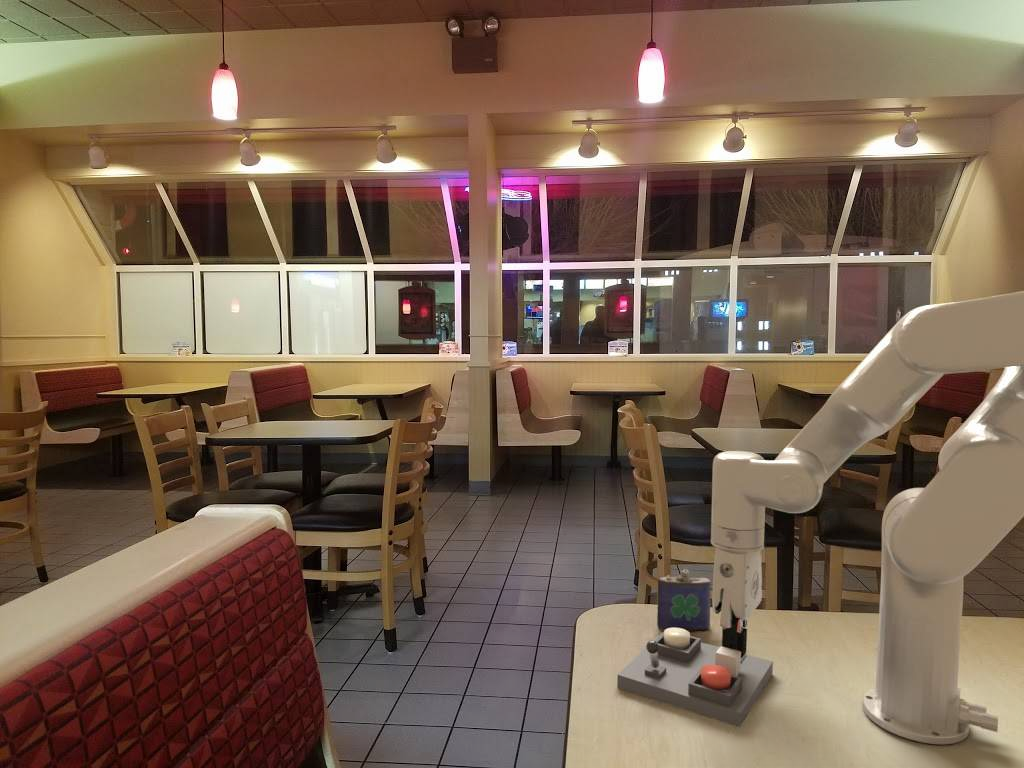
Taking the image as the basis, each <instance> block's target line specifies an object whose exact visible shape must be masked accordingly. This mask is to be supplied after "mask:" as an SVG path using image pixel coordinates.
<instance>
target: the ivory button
mask: <svg viewBox="0 0 1024 768" xmlns="http://www.w3.org/2000/svg"><path fill="white" fill-rule="evenodd" d="M663 632H664V643H665V645H667V646H669V647H673V648H677V649H684V648H687V647H689V646H690V636H691V632H688V631H687V630H685V629H681V628H668V629H666V630H665V631H663Z"/></svg>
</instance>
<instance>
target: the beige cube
mask: <svg viewBox="0 0 1024 768" xmlns="http://www.w3.org/2000/svg"><path fill="white" fill-rule="evenodd" d="M719 647H720V648H719V649H718V650H717V651H716V657H715V665H719V666H722V667H725V668H726V669H728V670H729V671H730V673H731V675H734V676H737V675H738V674H739V672H740V668H741V651H737V650H733V649H730V648H726V647H722V645H721V646H719Z"/></svg>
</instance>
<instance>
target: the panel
mask: <svg viewBox="0 0 1024 768" xmlns="http://www.w3.org/2000/svg"><path fill="white" fill-rule="evenodd" d="M652 641H655V642H657V644H658V646H659V650H658V659H659V667H658V668H653V667H652V666H651V661H650V655H649V652H648V651H647V649H646V647H644V648H643V650H641V652H639V654H638V655H636V656H635V657H634V658H633V659H632V660H631V661H630V662H629V663H628V664H627V665H626V666H625V667H624V668H622V669H621V671H620V672H619V673H618V674H617V683H616V684H617V688H618V689H621V690H624V691H627V692H630V693H632V694H637V695H640V696H642V697H645V698H649V699H652V700H654V701H658V702H660V703H664V704H667V705H670V706H673V707H676V708H679V709H682V710H685V711H689V712H692V713H695V714H697V715H701V716H704V717H707V718H710V719H713V720H716V721H719V722H722V723H726V724H728V725H731V726H735V727H737V728H741V726H742V725H743V723H744V721H746V719H747V716H748V715H749V713H750V712H751V710H752V708H753V707H754V705H755V703H756V702H757V700H758V698H759V697H760V695H761V693H762V692H763V690H765V689H764V688H765V687H766V685H767V684H768V682H769V680H770V678H771V677H772V676H773V672H774V667H773V666H774V661H773V660H769V659H766V658H761V657H759V656H754V655H750V654H747V653H746V654H745V655H744V656H743V658H741V668H740V672H739V674H738V675H737V676H734V675H731V685H730V687H729V688H728V689H726V690H715V689H711V688H708V687H706V686H704V685H703V684H702V683H701V669H702V667H704V666H706V665H715V657H716V651H717V650H718V649H719V648H720V647H721V646H716V645H712V644H709V643H706V642H702V638H700V637H695V636H693V635H690V646H689V647H687V648H684V649H677V648H673V647H669V646H667V645H665V643H664V631H661V632H660V634H658V635H657V636H656V637H655V638H654V639H652Z"/></svg>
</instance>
